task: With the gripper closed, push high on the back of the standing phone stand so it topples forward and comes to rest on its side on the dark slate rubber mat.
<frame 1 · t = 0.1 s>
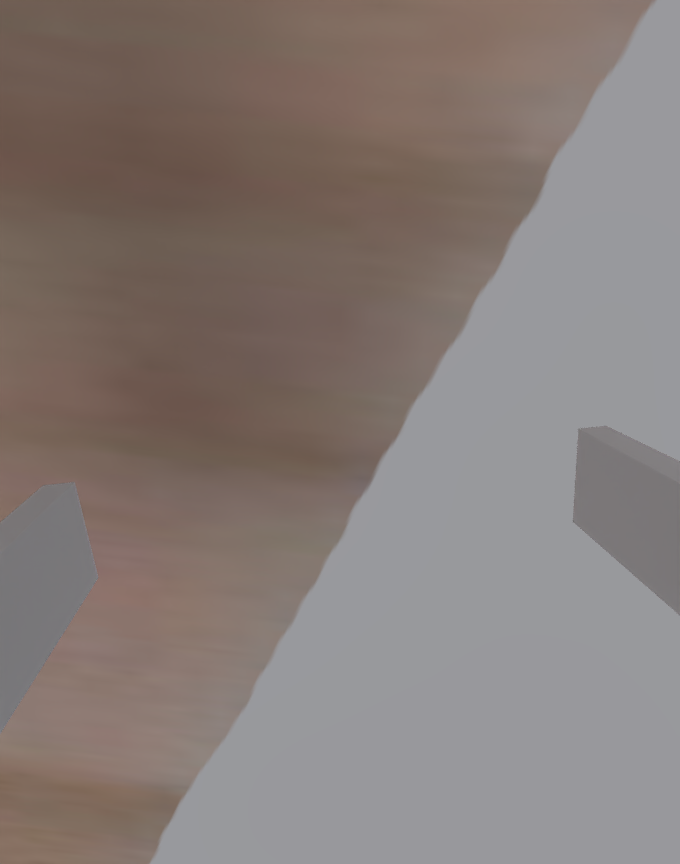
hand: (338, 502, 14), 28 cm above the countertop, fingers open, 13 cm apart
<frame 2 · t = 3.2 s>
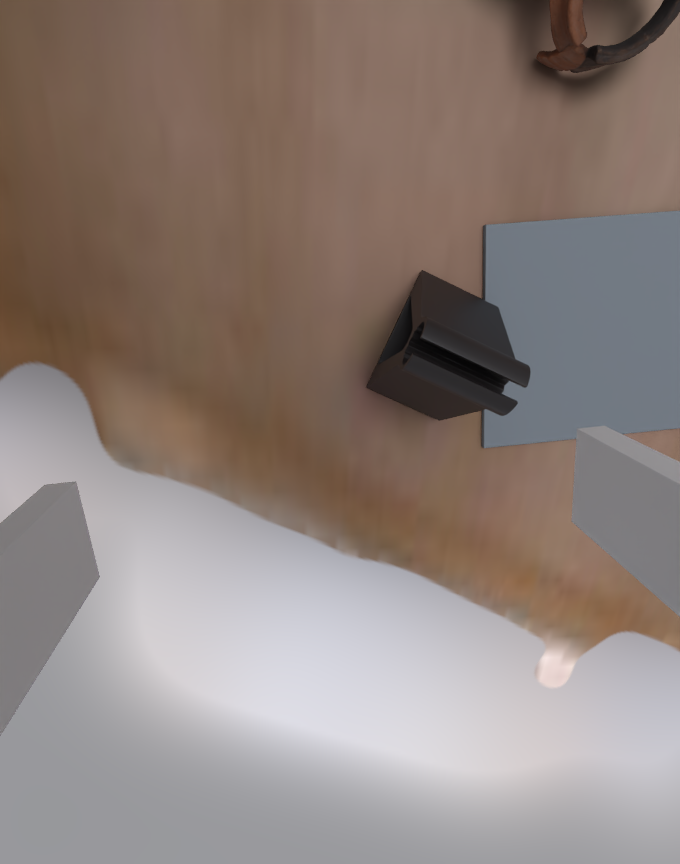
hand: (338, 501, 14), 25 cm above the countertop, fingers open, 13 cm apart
phone stand: (429, 347, 38), on the countertop, touching slate mat
slate mat: (613, 331, 39), on the countertop
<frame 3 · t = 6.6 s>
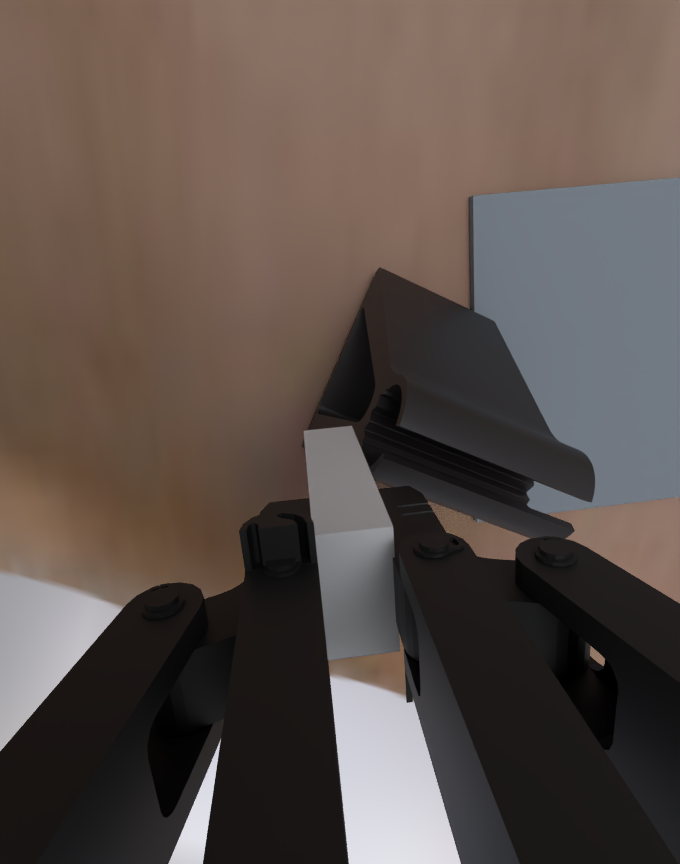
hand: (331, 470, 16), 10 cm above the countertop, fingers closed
phone stand: (393, 382, 25), on the countertop, touching gripper, slate mat
slate mat: (664, 351, 26), on the countertop
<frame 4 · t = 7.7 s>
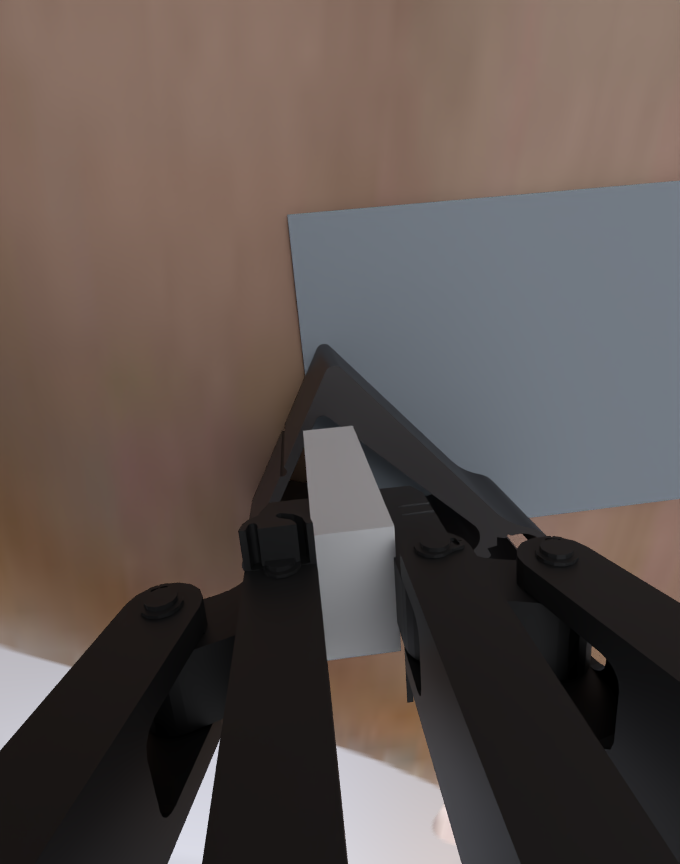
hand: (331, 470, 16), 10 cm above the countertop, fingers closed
phone stand: (278, 445, 22), point 3 cm above the countertop, touching slate mat
slate mat: (507, 371, 26), on the countertop
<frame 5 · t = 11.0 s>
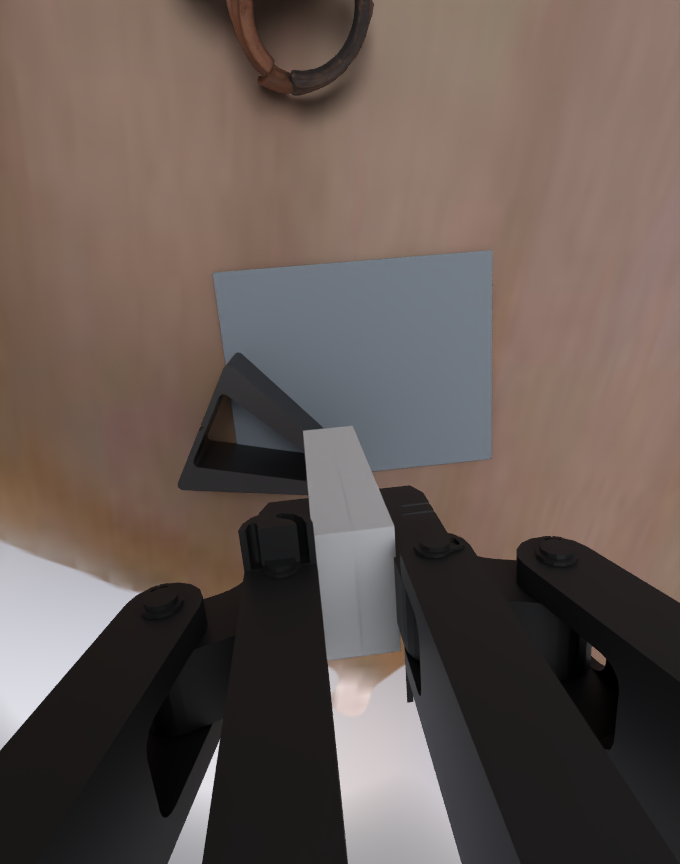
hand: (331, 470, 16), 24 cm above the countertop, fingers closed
phone stand: (204, 414, 36), point 3 cm above the countertop, touching slate mat
pottery mug: (274, 7, 33), on the countertop
slate mat: (361, 371, 40), on the countertop
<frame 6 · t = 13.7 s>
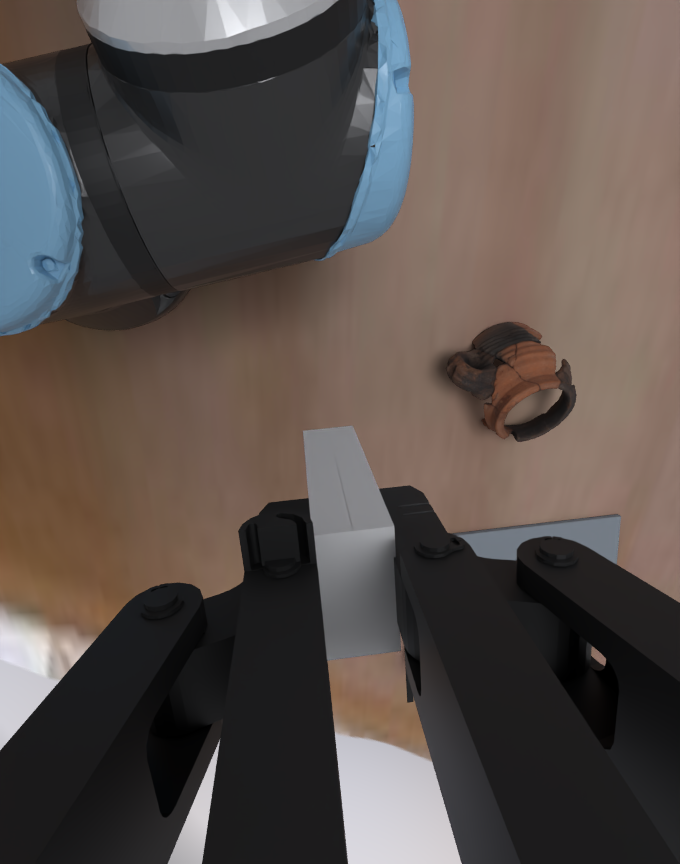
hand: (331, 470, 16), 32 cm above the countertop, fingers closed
pottery mug: (493, 372, 50), on the countertop
slate mat: (523, 591, 57), on the countertop
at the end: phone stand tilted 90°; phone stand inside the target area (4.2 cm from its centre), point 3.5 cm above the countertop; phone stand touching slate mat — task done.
